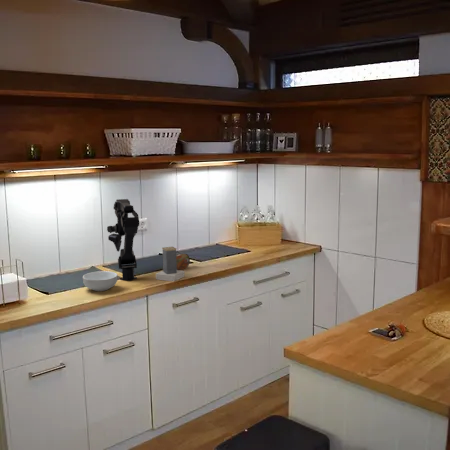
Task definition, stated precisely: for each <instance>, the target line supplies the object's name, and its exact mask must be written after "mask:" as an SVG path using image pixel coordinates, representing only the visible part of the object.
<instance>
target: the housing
mask: <svg viewBox="0 0 450 450" xmlns="http://www.w3.org/2000/svg"><path fill="white" fill-rule="evenodd" d="M161 249H162V271H163V272H164V273H166V274H172V273H177V264H176V255H177V249H178V248H176V247H174V246H164V247H162V248H161Z"/></svg>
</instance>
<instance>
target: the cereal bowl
mask: <svg viewBox="0 0 450 450" xmlns="http://www.w3.org/2000/svg"><path fill="white" fill-rule="evenodd" d="M82 282H83V285H84V286H85V288H88V289H89V290H93V291H94V292H105V291H107V290H109V289H111V288H113V287H114V286H115V285H116V284H117V282H118V273H116V272H114V271H111V270H110V271H108V270H107V271H106V270H105V271H104V270H102V271H101V270H99V271H92V272H88V273H85V274H83V276H82Z"/></svg>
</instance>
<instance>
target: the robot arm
mask: <svg viewBox="0 0 450 450" xmlns="http://www.w3.org/2000/svg"><path fill="white" fill-rule="evenodd" d="M134 209H135V208H134V205H131V201H130V200H129V199H128V198H124V199H123V198H121V199H119V198H118V199H116V200H115V201H114V203H113V210H114V214H115V217H116V218H117V219H116V220H117V223H115V224H114V225H107V228H106V231H107V233H109V235H108V236H107V237H108V241H109V242H112V243H113V245H114V247H115V249H116V252H120V253H119V256H118V258H117V262H118V269H120V270H121V272H122V273H121V274H122V275H121V276H122V277H121V278H120V279H119V281H120V280H121V281H125V282H126V281H127V282H128V281H129V282H130V281H134V280H136V279H137V277H136V276H135V269H137V268H138V267H137V266H138V265H137V264H138V263H137V259H136V255H135V253H134V250H133V247H134V238H135V236H137V234H138V230H139V227H140V218H139V214H138V212H136V210H134ZM129 214H132V217H131V216H130V217H129ZM122 237H124V241H123V248H121V245H122Z"/></svg>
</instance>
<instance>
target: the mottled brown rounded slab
mask: <svg viewBox="0 0 450 450" xmlns="http://www.w3.org/2000/svg"><path fill="white" fill-rule="evenodd" d="M190 262H191V260H190V256H189V254H187V253H180V254H176V264H177V270H179V271H182V270H184V269H187V268H189V265H190Z"/></svg>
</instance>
